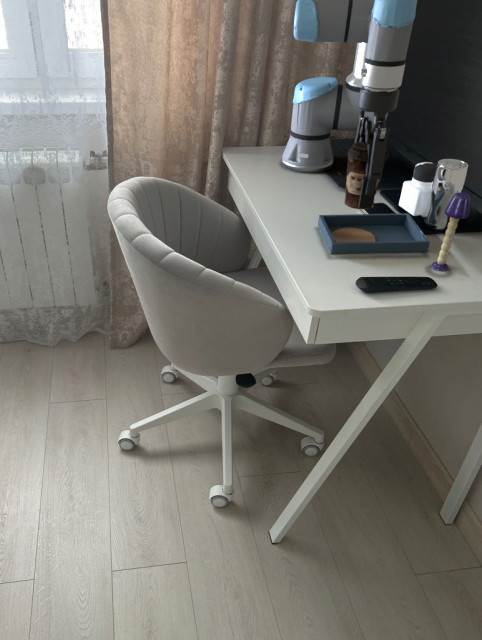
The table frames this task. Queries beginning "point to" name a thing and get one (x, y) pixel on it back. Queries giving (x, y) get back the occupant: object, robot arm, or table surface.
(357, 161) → the coffee cup
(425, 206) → the medicine bottle
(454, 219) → the toy lamp
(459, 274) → the table surface
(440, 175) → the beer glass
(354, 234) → the coaster
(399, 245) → the tray
